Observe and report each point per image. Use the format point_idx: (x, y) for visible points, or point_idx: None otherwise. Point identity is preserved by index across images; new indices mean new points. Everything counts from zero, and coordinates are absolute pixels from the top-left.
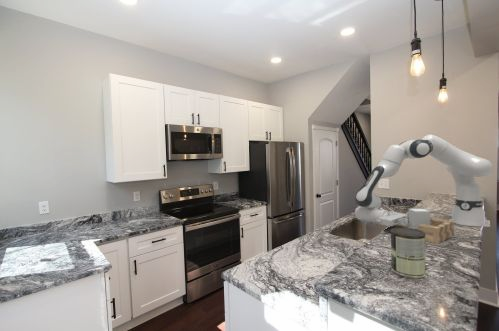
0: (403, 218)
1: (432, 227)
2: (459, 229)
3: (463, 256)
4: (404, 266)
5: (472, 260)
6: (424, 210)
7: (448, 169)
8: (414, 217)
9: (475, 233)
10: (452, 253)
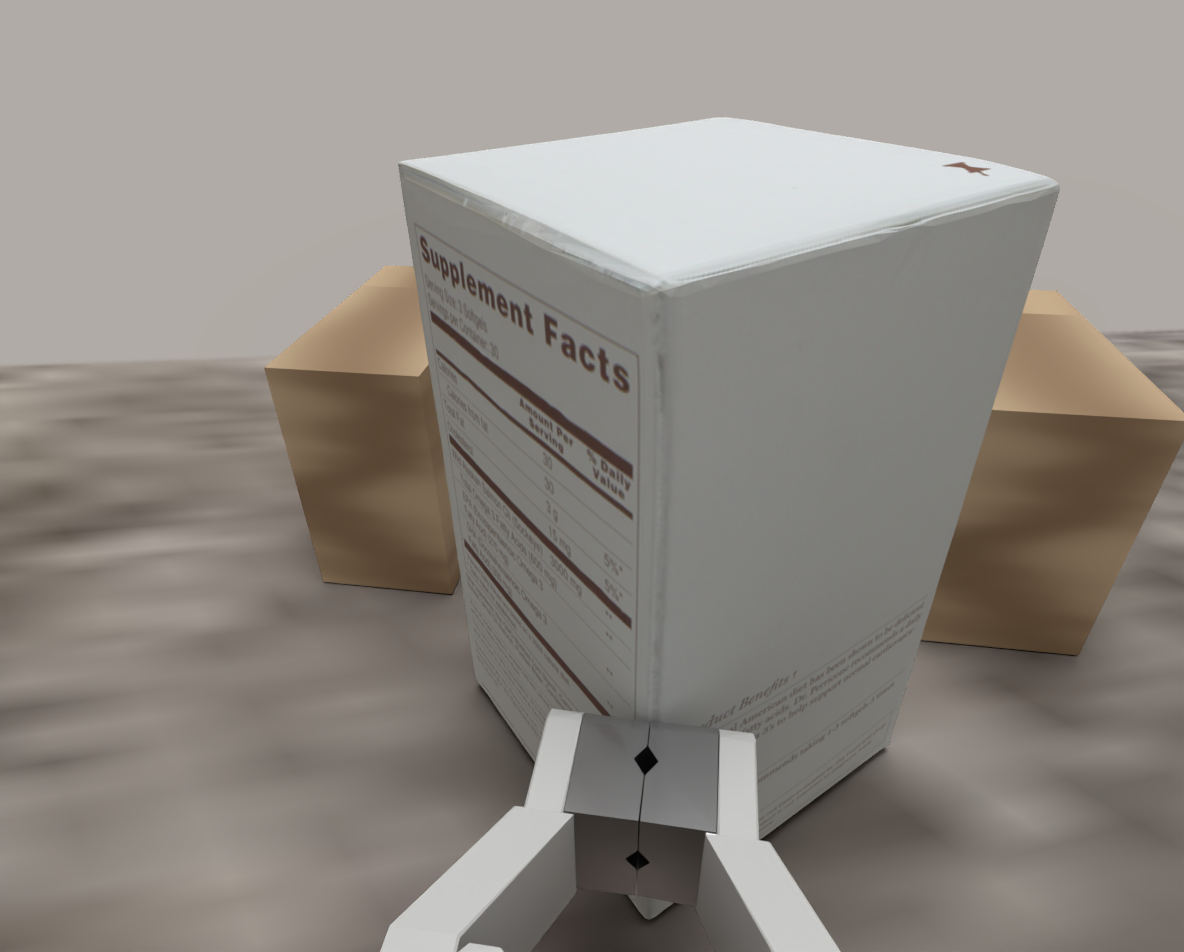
0: (465, 934)
1: (1077, 319)
2: (35, 439)
3: (1151, 363)
4: None
5: (1173, 337)
6: (715, 132)
7: None
8: (994, 390)
9: (213, 365)
10: (1175, 399)
